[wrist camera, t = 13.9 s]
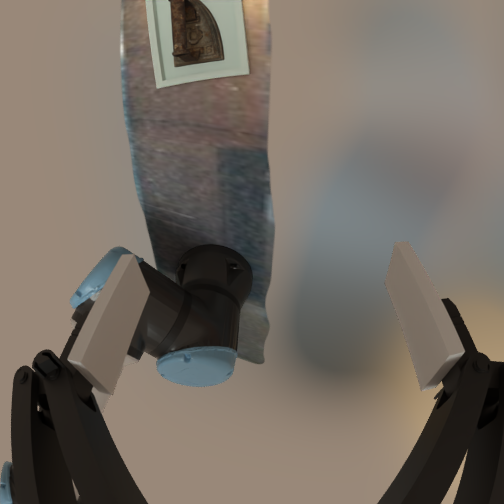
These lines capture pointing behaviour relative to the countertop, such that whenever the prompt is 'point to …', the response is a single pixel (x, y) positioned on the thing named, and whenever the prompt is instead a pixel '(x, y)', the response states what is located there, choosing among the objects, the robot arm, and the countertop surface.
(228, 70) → the iron rest
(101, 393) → the robot arm
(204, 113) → the countertop surface
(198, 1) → the clothes iron
